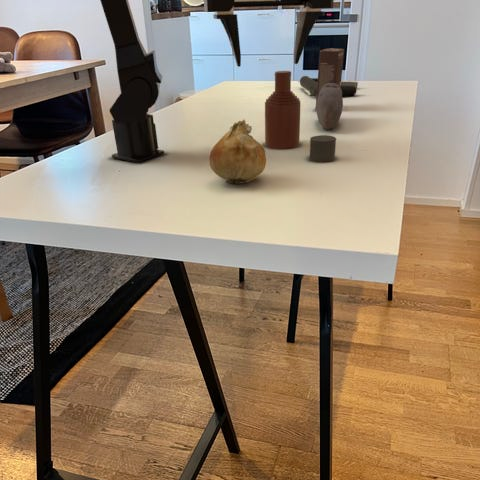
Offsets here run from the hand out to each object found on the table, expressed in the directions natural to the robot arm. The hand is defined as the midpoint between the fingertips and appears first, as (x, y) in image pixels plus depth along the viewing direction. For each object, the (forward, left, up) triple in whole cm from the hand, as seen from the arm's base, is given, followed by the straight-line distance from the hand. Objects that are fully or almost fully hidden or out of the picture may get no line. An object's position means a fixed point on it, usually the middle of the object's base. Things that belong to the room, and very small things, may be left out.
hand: (267, 65), depth 76 cm
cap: (-2, -11, -13) cm, 17 cm away
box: (+36, +7, -13) cm, 39 cm away
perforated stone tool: (+20, -1, -13) cm, 24 cm away
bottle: (+3, -1, -13) cm, 13 cm away
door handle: (+59, +17, -13) cm, 63 cm away
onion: (-18, -6, -13) cm, 23 cm away
